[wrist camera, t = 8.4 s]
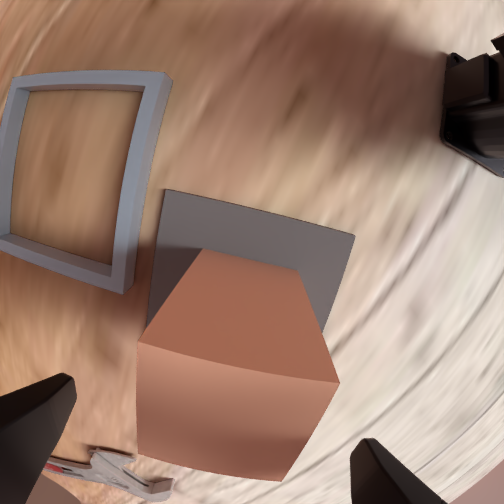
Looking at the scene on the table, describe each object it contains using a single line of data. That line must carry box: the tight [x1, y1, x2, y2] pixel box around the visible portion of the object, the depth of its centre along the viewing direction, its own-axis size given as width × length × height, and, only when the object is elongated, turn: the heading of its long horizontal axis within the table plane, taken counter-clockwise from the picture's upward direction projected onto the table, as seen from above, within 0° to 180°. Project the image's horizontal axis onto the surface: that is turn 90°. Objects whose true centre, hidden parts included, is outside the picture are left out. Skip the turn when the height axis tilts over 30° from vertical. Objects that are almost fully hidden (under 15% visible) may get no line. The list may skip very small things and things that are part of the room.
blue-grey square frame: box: [0, 70, 173, 295], centre depth 14 cm, size 12×12×2 cm
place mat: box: [146, 189, 355, 332], centre depth 16 cm, size 10×10×1 cm
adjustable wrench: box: [43, 447, 175, 502], centre depth 22 cm, size 8×26×2 cm, turn 101°
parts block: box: [136, 249, 340, 482], centre depth 11 cm, size 5×5×9 cm
